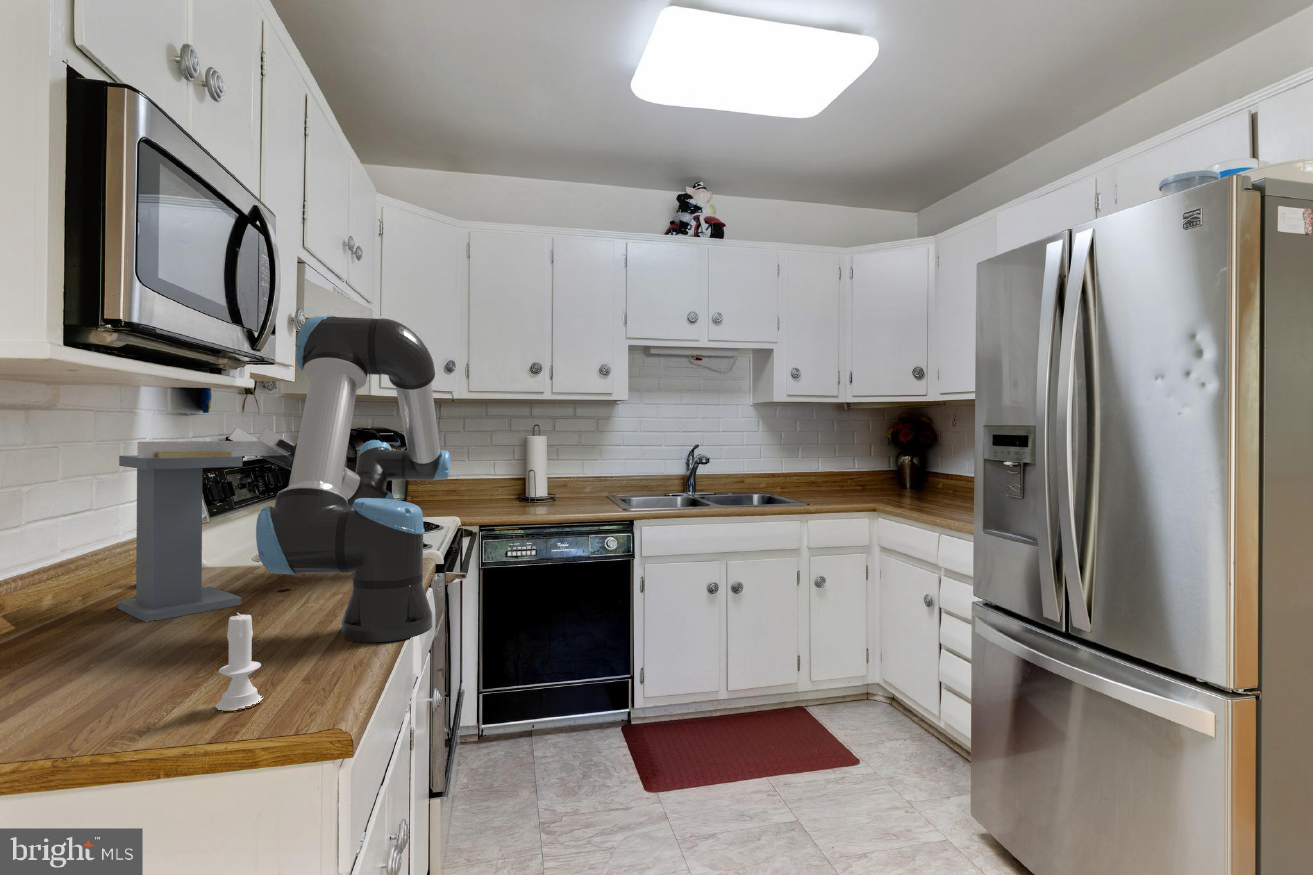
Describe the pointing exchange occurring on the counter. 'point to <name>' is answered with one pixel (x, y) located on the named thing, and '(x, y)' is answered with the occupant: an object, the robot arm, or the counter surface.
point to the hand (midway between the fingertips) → (246, 433)
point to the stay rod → (205, 448)
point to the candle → (239, 665)
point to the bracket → (194, 454)
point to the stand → (172, 539)
